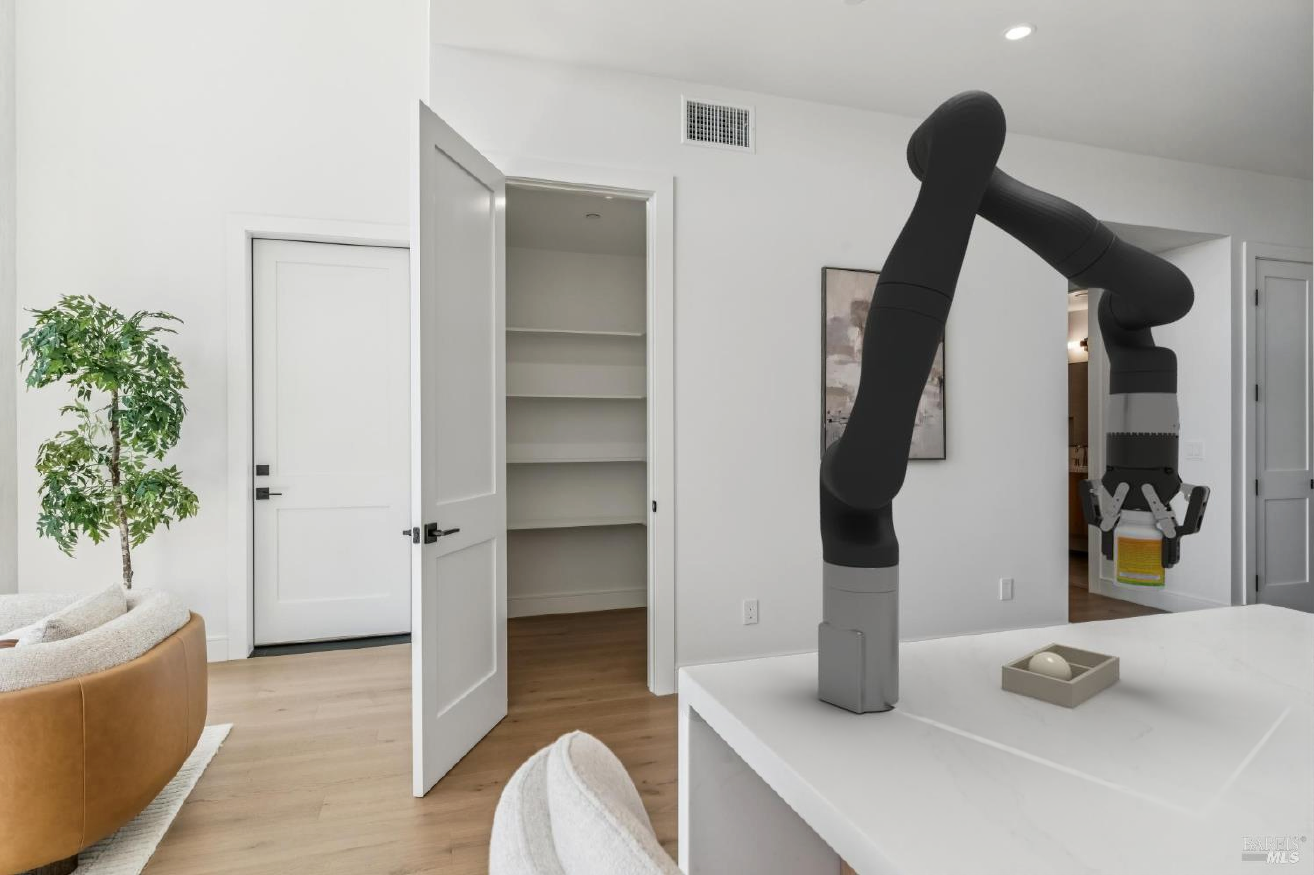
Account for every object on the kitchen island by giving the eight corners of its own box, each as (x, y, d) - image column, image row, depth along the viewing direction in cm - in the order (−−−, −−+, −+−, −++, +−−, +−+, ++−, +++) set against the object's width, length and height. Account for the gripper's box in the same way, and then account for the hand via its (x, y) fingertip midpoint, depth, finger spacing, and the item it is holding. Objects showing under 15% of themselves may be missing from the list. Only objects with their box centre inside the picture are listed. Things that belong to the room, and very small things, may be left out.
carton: (1072, 713, 82) (1072, 684, 81) (1001, 693, 88) (1001, 666, 88) (1119, 683, 91) (1119, 657, 91) (1053, 667, 98) (1053, 642, 98)
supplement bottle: (1173, 593, 83) (1175, 513, 83) (1124, 590, 85) (1125, 511, 85) (1151, 584, 89) (1153, 509, 89) (1105, 581, 90) (1106, 507, 90)
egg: (1062, 700, 84) (1062, 661, 84) (1021, 689, 88) (1021, 651, 88) (1077, 691, 87) (1077, 653, 87) (1037, 681, 91) (1037, 644, 91)
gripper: (1067, 429, 90) (1065, 558, 90) (1203, 430, 79) (1201, 577, 79) (1090, 430, 95) (1088, 553, 95) (1221, 431, 83) (1219, 569, 84)
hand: (1139, 563), depth 87 cm, fingers closed on supplement bottle, 5 cm apart
